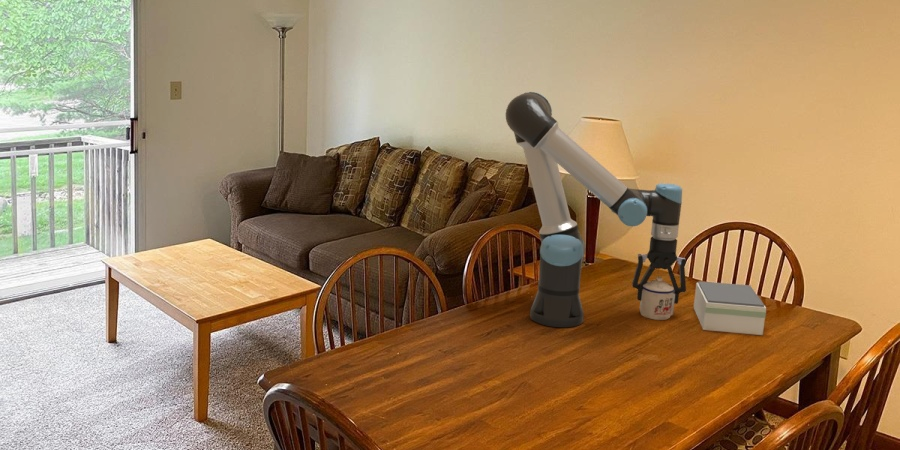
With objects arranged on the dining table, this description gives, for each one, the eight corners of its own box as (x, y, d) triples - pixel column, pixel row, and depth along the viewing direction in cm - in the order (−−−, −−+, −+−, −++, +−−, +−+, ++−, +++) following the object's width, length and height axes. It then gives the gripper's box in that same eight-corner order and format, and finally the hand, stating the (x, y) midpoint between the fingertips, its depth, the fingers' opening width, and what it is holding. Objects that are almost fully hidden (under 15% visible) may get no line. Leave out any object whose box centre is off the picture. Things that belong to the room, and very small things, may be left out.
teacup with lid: (656, 322, 226) (660, 283, 224) (632, 313, 234) (636, 275, 231) (684, 316, 233) (688, 278, 230) (660, 307, 240) (664, 270, 238)
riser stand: (703, 330, 222) (706, 301, 220) (693, 307, 241) (696, 280, 239) (762, 335, 219) (766, 306, 217) (748, 312, 239) (751, 285, 237)
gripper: (628, 237, 226) (621, 312, 231) (703, 243, 223) (694, 319, 228) (626, 231, 233) (619, 305, 238) (699, 237, 230) (690, 311, 235)
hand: (656, 312), depth 233 cm, fingers closed on teacup with lid, 8 cm apart
